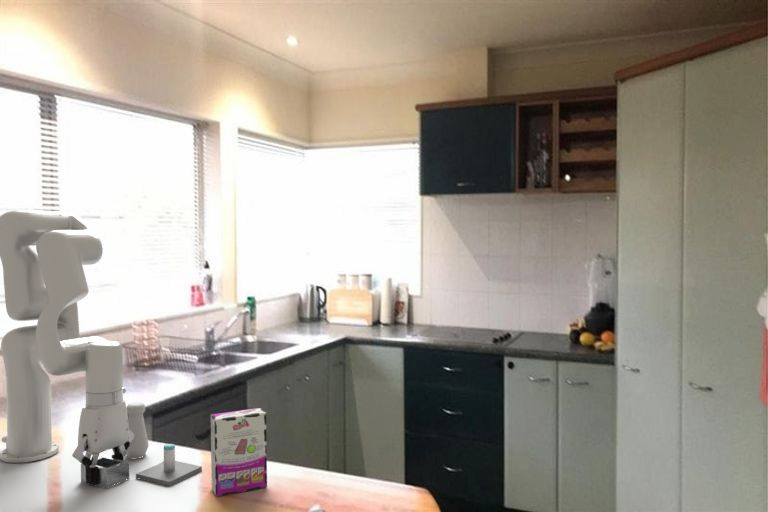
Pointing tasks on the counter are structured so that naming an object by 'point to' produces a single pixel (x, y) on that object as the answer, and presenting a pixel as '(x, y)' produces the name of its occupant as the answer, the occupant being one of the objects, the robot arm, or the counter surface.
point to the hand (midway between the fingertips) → (105, 477)
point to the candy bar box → (238, 451)
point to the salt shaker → (137, 430)
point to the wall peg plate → (169, 469)
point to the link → (109, 471)
